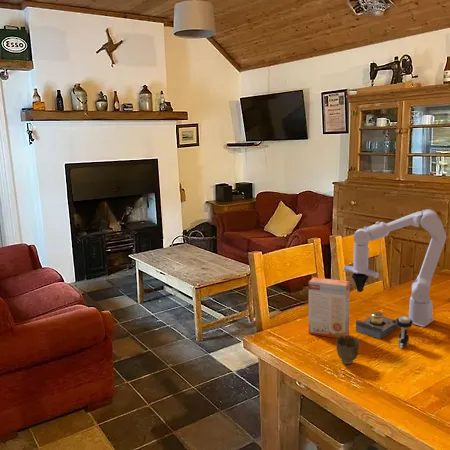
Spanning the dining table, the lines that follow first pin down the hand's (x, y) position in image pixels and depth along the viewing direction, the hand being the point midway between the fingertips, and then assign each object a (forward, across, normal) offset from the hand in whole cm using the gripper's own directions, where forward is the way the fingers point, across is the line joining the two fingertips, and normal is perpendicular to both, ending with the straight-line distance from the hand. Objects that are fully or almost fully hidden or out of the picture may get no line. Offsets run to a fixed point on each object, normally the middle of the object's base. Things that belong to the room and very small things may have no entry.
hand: (360, 291), depth 184 cm
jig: (+10, +12, -7) cm, 17 cm away
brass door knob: (+10, +12, -7) cm, 17 cm away
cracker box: (+11, +1, -23) cm, 25 cm away
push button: (+11, +25, -13) cm, 30 cm away
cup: (+11, +18, -37) cm, 42 cm away
